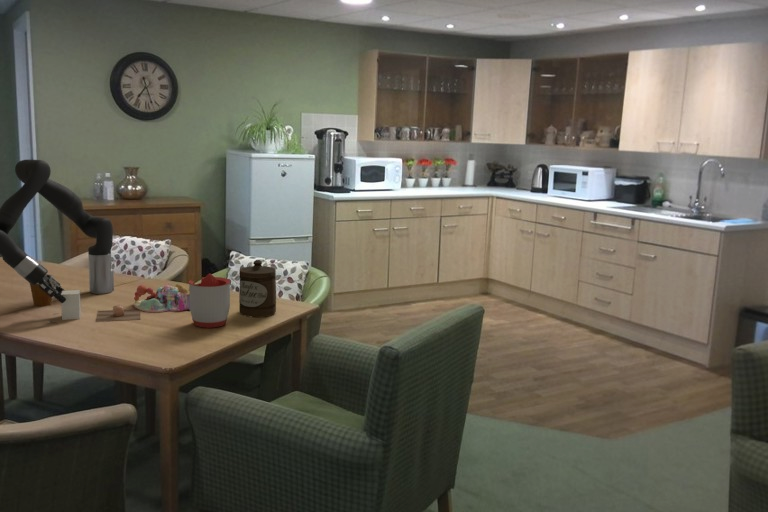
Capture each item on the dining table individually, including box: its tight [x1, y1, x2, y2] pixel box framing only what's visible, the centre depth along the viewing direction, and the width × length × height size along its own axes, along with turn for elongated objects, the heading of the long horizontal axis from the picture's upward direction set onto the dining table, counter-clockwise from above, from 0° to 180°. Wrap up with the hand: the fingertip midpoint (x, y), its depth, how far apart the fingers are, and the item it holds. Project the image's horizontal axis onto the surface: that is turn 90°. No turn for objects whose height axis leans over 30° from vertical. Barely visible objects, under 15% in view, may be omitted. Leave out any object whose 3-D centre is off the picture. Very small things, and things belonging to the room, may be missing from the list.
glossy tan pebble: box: [112, 304, 125, 317], centre depth 275 cm, size 4×4×4 cm
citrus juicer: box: [188, 273, 232, 329], centre depth 269 cm, size 16×17×20 cm
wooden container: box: [238, 259, 277, 318], centre depth 287 cm, size 15×15×22 cm
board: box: [95, 308, 141, 323], centre depth 275 cm, size 16×16×1 cm
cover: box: [60, 289, 82, 321], centre depth 269 cm, size 6×6×10 cm
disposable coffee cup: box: [29, 273, 55, 307], centre depth 286 cm, size 10×10×12 cm
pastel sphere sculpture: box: [133, 283, 190, 314], centre depth 292 cm, size 25×24×9 cm
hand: (65, 298), depth 268 cm, fingers open, 8 cm apart
